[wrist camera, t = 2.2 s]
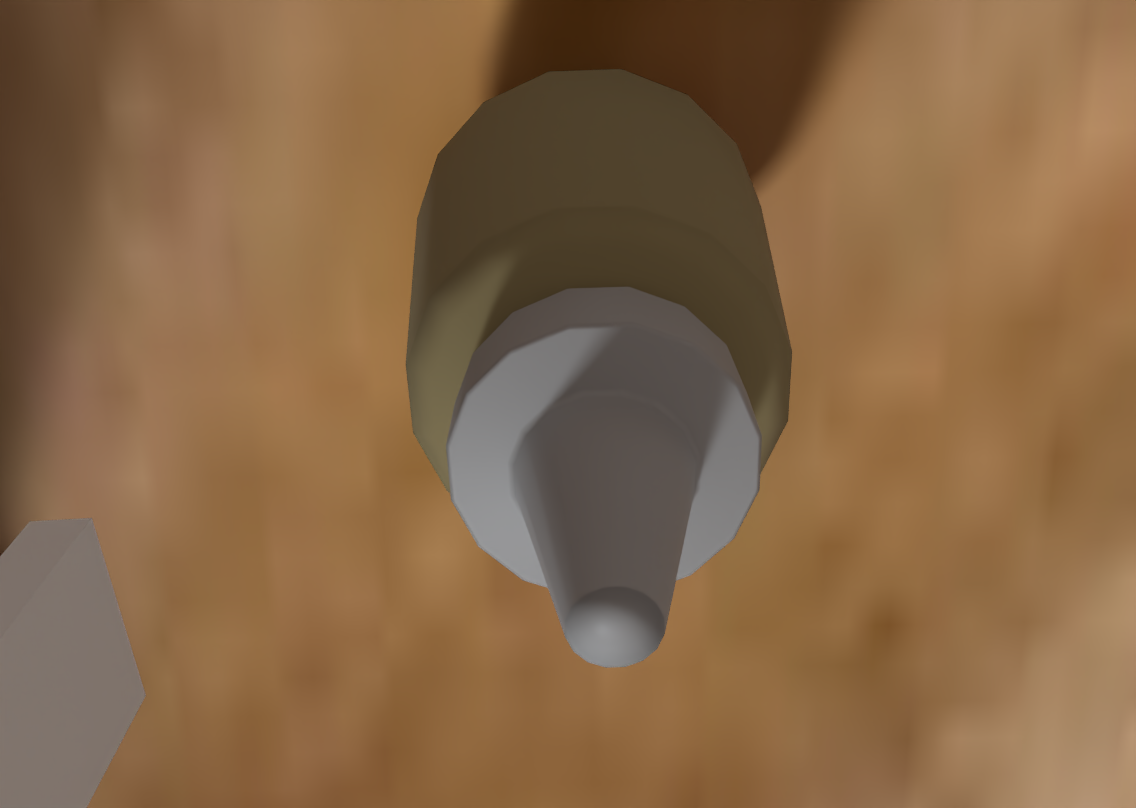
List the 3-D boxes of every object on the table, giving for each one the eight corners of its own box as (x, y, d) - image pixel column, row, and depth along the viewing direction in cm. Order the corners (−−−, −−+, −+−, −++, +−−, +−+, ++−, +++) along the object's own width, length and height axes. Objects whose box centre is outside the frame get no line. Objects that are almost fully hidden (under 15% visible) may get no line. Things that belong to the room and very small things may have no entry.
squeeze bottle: (452, 17, 27) (277, 238, 10) (773, 72, 27) (1077, 361, 11) (418, 320, 30) (248, 838, 14) (703, 363, 31) (857, 907, 15)
